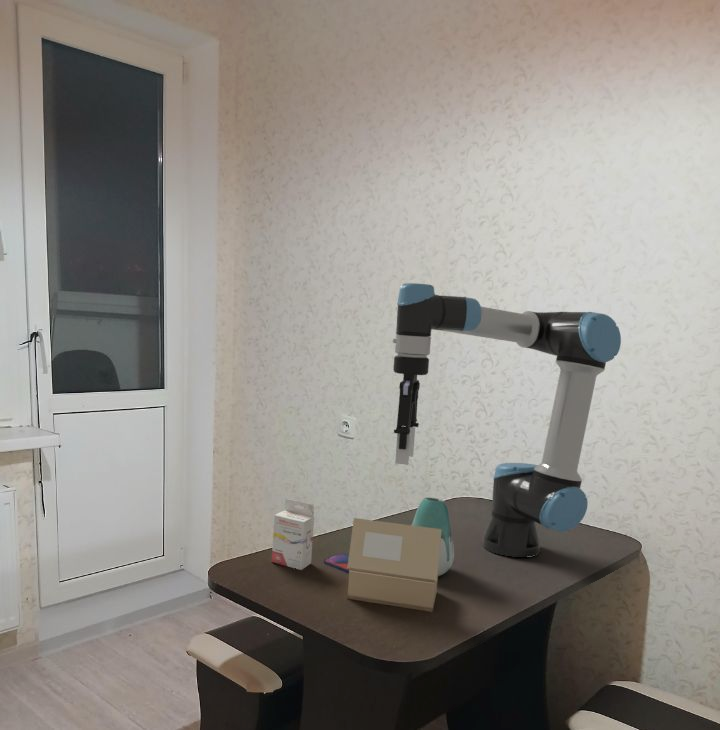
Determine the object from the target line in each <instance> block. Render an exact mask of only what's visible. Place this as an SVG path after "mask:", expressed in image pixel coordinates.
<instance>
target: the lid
mask: <svg viewBox="0 0 720 730" xmlns="http://www.w3.org/2000/svg"><path fill="white" fill-rule="evenodd" d="M351 529H352V530H351V537H350V538H351V539H350V544H349V545H350V546H349V552H348V555H349V559H348V567H347V568H349V571H356V572H363V573H370V574H376V575H383V576H390V577H397V578H404V579H410V580H417V581H424V582H431V583H435V581H437V582H438V580H437V574H438V563H439V553H440V542H441V531H442V529H435V528H428V527H420V526H412V524H404V523H395V522H387V521H380V520H379V521H378V520H373V519H365V518H357V517H353V523H352V528H351Z"/></svg>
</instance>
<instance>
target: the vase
mask: <svg viewBox="0 0 720 730" xmlns="http://www.w3.org/2000/svg"><path fill="white" fill-rule="evenodd" d="M411 525H412V526H420V527H428V528H435V529H442V531H441V542H440V553H439V563H438V566H439V567H438V577H440V576H442V575H444V574H446V573H447V572H448V571H449V570H450V568H451V567H452V565H453V562H454V557H455V547H454V546H455V545H454V539H453V536H452V535H453V534H452V533H453V532H452V529H451V522H450V515H449V509H448V506H447V504H446V501H444V500H443V499H440V498H437V497H424V498H422V500H421V501H420V502H419V504H418V506H417V508H416V511H415V515H414V517H413V519H412V523H411Z"/></svg>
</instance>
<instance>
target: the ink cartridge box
mask: <svg viewBox="0 0 720 730" xmlns="http://www.w3.org/2000/svg"><path fill="white" fill-rule="evenodd" d="M296 506H300V507H303V508H299V507H296ZM314 508H315V506H314V504H312V503H309V502H306V501H305V502H304V501H299V500H295V499H291V498H285V501H284V509H283V510H282V511H280V512H278V513H275V514H274V519H273V520H274V521H273V534H272V546H271V547H272V551H271V563H275V564H278V565H282V566H283V567H284V566H285V567H288V568H291V569H295V568H296V569H295V570H299V571H303V570H304V569H305V568H306V567H308V566H309V565H311V563H312V555H313V554H312V553H313V540H314V527H315V526H314V524H315V517H314V514H315V513H314V510H315V509H314Z"/></svg>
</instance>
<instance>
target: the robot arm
mask: <svg viewBox="0 0 720 730" xmlns="http://www.w3.org/2000/svg"><path fill="white" fill-rule="evenodd" d="M397 297H398V298H397V303H396V304H397V310H396V311H397V313H396V314H397V316H396V329H395V332H396V333H395V334H396V335H395V338H393V339H392V343H393V344H395V345H394V346H395V347H394V353H396V354H397V355H394V357H393V358H394V359H393V372H394V373H395V374H399V375H403V377H402V380H401V381H400V382H399V388H398V389H399V396H398V397H399V398H398V407H397V408H398V409H397V411H398V412H397V419H396V429H393V433H394V434H396V436H397V437H396V449H395V463H394V464H396V465H398V464H399V465H406V466H409V461H410V460H409V459H410V457H411V458H413V457H414V451H415V439H416V438H415V437H416V428H419V425H420V423H419V422H418V418H417V416H418V415H417V413H418V400H419V391H420V387H421V383H420V381H419V379H418V376H426V375H428V373H429V367H430V365H429V364H430V359H429V358H428V356H429V355H430V354H431V341H432V340H431V339H432V330H435V331H441V332H442V331H443V332H448V333H455V334H462V335H467V336H473V337H479V338H485V339H493V340H499V341H506V342H510V343H511V342H512V343H516V344H517V345H518V346H519V347H521V348H525V349H531V350H533V351H534V350H535V351H536V352H537V351H539V352H541V353H544V354H548V355H552V356H556V359H555V363H556V364H557V366H558V367H559V370H560V371H559V375H558V376H559V377H558V380H557V381H558V382H557V386H556V392H555V395H554V401H553V405H552V410H551V414H550V421H549V425H548V430H547V434H546V439H545V444H544V450H543V455H542V459H541V462H540V463H539V464H538V465H537V464H535V463H533V464H532V463H525V462H506V463H500V464H497V466H495V469H494V470H495V471H494V476H493V486H492V488H493V489H492V503H491V516H490V519H489V521H488V522H487V523H488V524H487V525H486V528H485V530H484V533H483V535H482V542H481V543H482V547H483V548H484V547H485V548H484V549H486V550H487V551H489V552H491V553H493V554H495V553H496V554H495V555H498V554H500V555H499V556H502V555H505V556H504V557H507V556H514V557H527V556H533V555H536V554H538V553H539V551H540V552H541V542H540V541H541V540H540V537H539V533H538V529H537V524H539V525H541V526H542V527H544V528H545V529H548V530H549V529H550V530H553V531H555V532H560V533H564V532H568V531H572V530H573V529H574V528H575V527H576V526H578V525H579V524H580V523H581V522H582V521H583V519H584V517H585V515H586V513H587V510H588V504H589V502H588V498H587V497H586V493H585V492H584V491H583V490H582V489H581V487H582V481H583V478H582V477H581V475H580V474H579V473H578V467H579V464H580V458H581V455H582V454H581V453H582V449H583V443H584V438H585V434H586V429H587V424H588V419H589V414H590V410H591V404H592V399H593V396H594V395H593V394H594V389H595V385H596V380H597V377H598V376H599V375H600V374H602V373H603V372H605V369H606V364H607V362H608V363H609V362H610V361H612V360H613V359H615V356H618V354H619V352H620V349H621V344H622V343H621V342H622V338H621V337H622V336H621V332H620V331H621V330H620V328H619V326H617V323H616V321H615V320H614V319H613V318H612V317H611V316H609V315H608V314H605V313H600V312H594V311H586V312H585V311H584V312H583V311H551V312H536V311H531V310H527V311H526V310H525V311H524V312H522V313H519V312H513V311H509V310H503V309H497V308H493V307H488V306H487V307H486V306H481V304H480V302H479V301H478V300H477V299H476V298H471V297H467V296H455V295H440V294H436V293H435V287H434V285H432V284H428V283H414V282H412V283H411V282H407V283H403V284H402V285H400V287H399V292H398V296H397ZM536 523H537V524H536ZM539 554H540V553H539ZM539 554H538V555H539Z"/></svg>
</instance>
